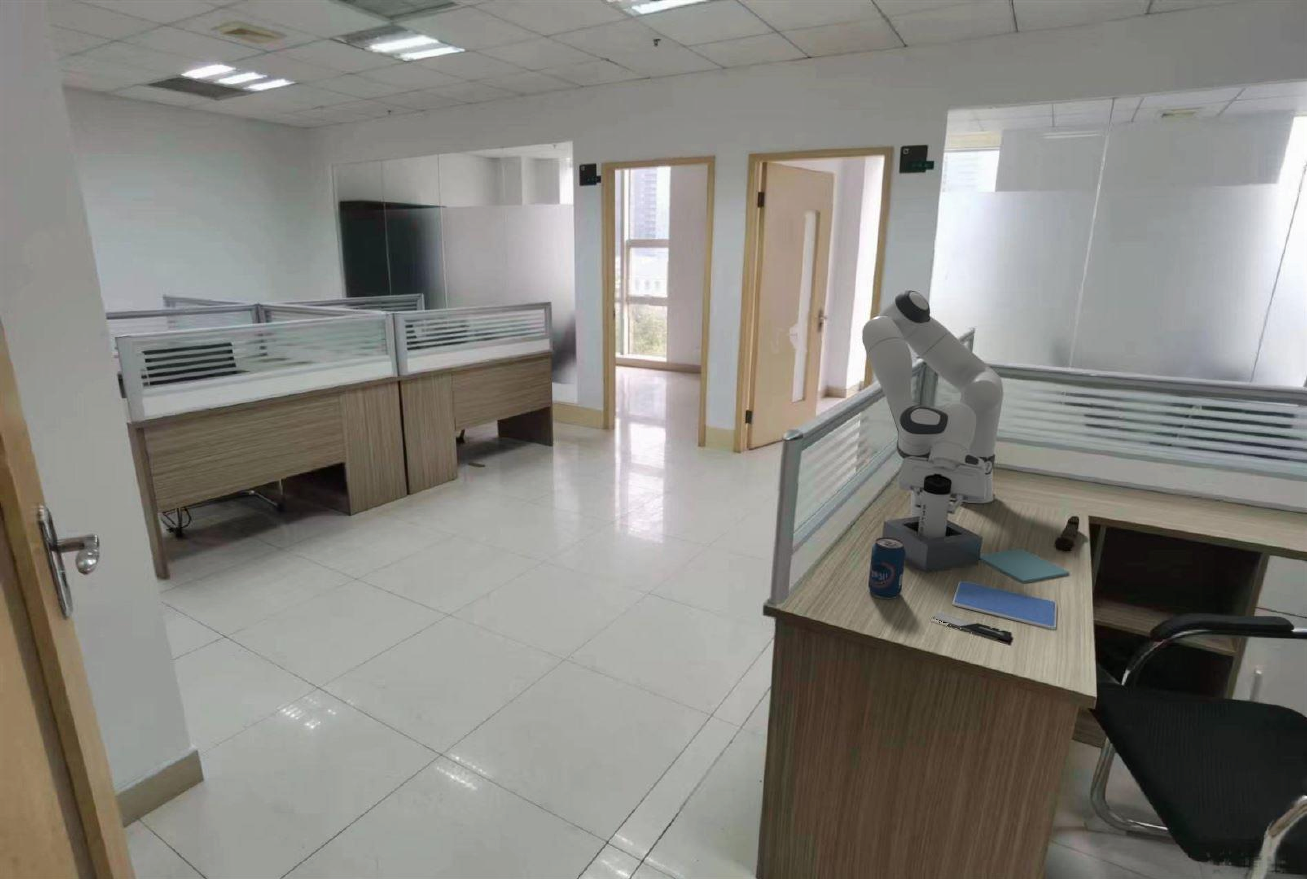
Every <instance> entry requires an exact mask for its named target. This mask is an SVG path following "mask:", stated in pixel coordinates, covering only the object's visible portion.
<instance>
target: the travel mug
mask: <svg viewBox="0 0 1307 879" xmlns="http://www.w3.org/2000/svg"><path fill="white" fill-rule="evenodd" d="M951 484H952V481H951V480H950V479H949V478H947V477H945V476H941V474H934V475H928V476H926V477H925V478H924V487H923V493H922V501H921V510H920V519H919V527H918V533H919V534H921V535H923V536H924V537H926V538H928V539H934V538H941V537H945V534H946V526H947V520H948V517H949V513H948V508H949V504H950V502H951V500H950V494H951Z"/></svg>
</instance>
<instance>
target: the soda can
mask: <svg viewBox="0 0 1307 879" xmlns="http://www.w3.org/2000/svg"><path fill="white" fill-rule="evenodd" d="M903 546H904V544H903V542H902V541H900V540H898V539H895V538H890V537H878V538H876V539H875V542H874V543H873V545H872V546H871V553H870V554H871V555H870V556H871V557H870V565H869V574H868V588H869V590H870V592H871V594H872V593H873V594H874V595H873V594H872V595H873V596H875V595H876V596H875V597H877V596H878V597H877V598H880V597H882V598H881V599H884V598H893V599H895V598H894V597H896V598H897V597H898V596H899V595H900V594H901V592H902V590H903V581H904V572H905V563H906V562H905V554H906V551H905V549H904V547H903Z"/></svg>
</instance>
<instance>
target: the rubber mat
mask: <svg viewBox="0 0 1307 879" xmlns="http://www.w3.org/2000/svg"><path fill="white" fill-rule="evenodd" d="M980 561H981V562H983V563H984V564H986V565H988V566H989V567H992V568H994V569H995V570H997V571H1000V572H1001V573H1003V574H1005V575H1006V576H1009V577H1011V578H1013V579H1014V580H1016V581H1018V582H1019V583H1022V584H1026V583H1031V582H1037V581H1042V580H1043V581H1044V580H1047V579H1048V580H1049V579H1051V578H1052V579H1053V578H1058V577H1063V576H1068V575H1069V576H1070V572H1069V571H1068V570H1066V569H1064V568H1062V567H1060V566H1057V565H1055V564H1053V563H1051V562H1049V561H1047V560H1045V559H1043V558H1041V557H1039V556H1037V555H1034V554H1032V553H1031V552H1028V551H1026V550H1024V549H1022V548H1017V549H1011V550H1003V551H997V552H992V553H986V554H980V560H979V562H980Z"/></svg>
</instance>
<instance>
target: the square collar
mask: <svg viewBox="0 0 1307 879" xmlns="http://www.w3.org/2000/svg"><path fill="white" fill-rule="evenodd" d="M919 519H920V516H917V517H910V516H909V517H904V518H897V519H896V518H895V519H889V520H884V521H883V524H882V525H883V528H882V535H881V536H882V537H890V538H895V539H898V540H900V541H902V542H903V544H904V546H903V547H904V549H905V551H906V554H905V563H907V564H909V565H910V566H911V567H913V568H915V569H917V570H918V571H920V572H921V571H922V572H921V573H923V574H924V573H925V574H929V573H935V572H940V571H948V570H953V569H954V570H955V569H958V568H964V567H970V566H977V565H980V555H981V552H982V544H983V537H982V536H981V535H979V534H977V533H975V532H973V531H970V530H969V529H967V528H964V527H963V526H962V525H961V526H960V525H959V524H957V523H954V522H952V521H950V520H948V519H947V526H946V534H945V537H941V538H934V539H928V538H926V537H924V536H923V535H921V534H919V533H918V527H919Z"/></svg>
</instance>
